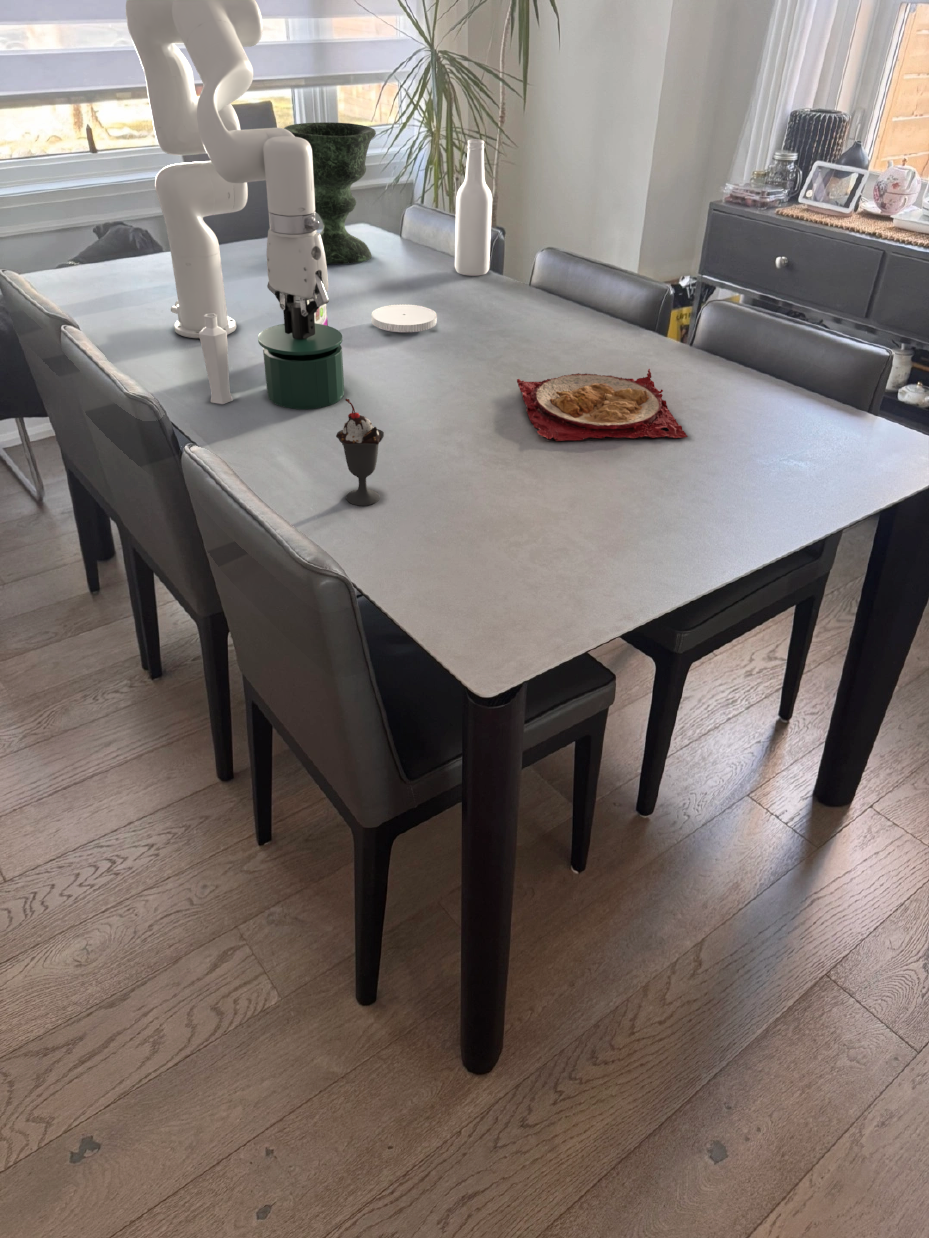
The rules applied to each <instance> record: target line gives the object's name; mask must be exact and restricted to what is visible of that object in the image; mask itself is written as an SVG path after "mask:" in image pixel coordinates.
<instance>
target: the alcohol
mask: <svg viewBox="0 0 929 1238" xmlns="http://www.w3.org/2000/svg"><path fill="white" fill-rule="evenodd" d="M466 147H467V157H466V166H465V174H464V175H465V177H464V181H463V182H462V184H461V185H460V187H459V188H458V190H457V193H456V198H455V232H454V233H455V234H454V235H455V240H454V241H455V242H454V269H455V271H456V272H457V273H458V274H459V275H463V276H470V277H471V276H472V277H474V276H475V277H477V276H478V277H479V276H483V275H486V274H488V272H489V270H490V259H491V256H490V255H491V234H492V213H493V212H492V211H493V196H492V191H491V189H490V187H489V186H488V184H487V183H486V179H485V152H484V151H485V141H484V140H483V139H481V138H480V139H479V138H471V139H468V140H467V146H466Z"/></svg>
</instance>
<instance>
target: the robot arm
mask: <svg viewBox="0 0 929 1238" xmlns="http://www.w3.org/2000/svg"><path fill="white" fill-rule="evenodd" d="M125 19H126V25H127V31H128V34H129V37H130V40H131V42H132V44H133V47H134V49H135V52H136V55H137V56H138V58H139V61H140V64H141V67H142V69H143V74H144V77H145V84H146V92H147V98H148V103H149V109H150V114H151V120H152V126H153V132H154V136H155V140H156V142H157V145H158V147H159V148H160V150H161V151H162V152H163V153H165V154H167V155H170V156H191V155H192V156H194V155H204V154H205V155H206V154H207V156H208V158H209V160H205V161H192V162H180V163H174V164H173V163H172V164H170V165H167V166H164V167H163V168H162V169H160V170H159V171H158V173H157V174H156V176H155V179H154V187H155V193H156V197H157V200H158V203H159V207H160V209H161V213H162V216H163V219H164V223H165V228H166V233H167V238H168V244H169V251H170V257H171V264H172V270H173V276H174V283H175V289H176V296H177V301H175V303H174V305H171V307H170V312H171V314H176V315H177V319H178V320H176V322H175V323H174V325H173V327H174V332H175V333H176V334H177V335H180V336H181V337H185V338H190V339H200V337H199V333H200V331H201V330H202V329H203V328H205V327H206V322H205V317H204V315H205V314H211V313H214V314H216V315H217V317H216V318H217V326H218V327H221V328H222V329H223V330H225V331H226V332H227V335H230V334H232V333H233V332H235V331H236V330H237V322H236V321H237V320H235V319H234V318H232V317H230V316H229V315H228V309H227V299H226V292H225V284H224V275H223V267H222V259H221V252H220V244H219V240H218V237H217V236H216V233H215V231H213V230H212V228H211V227H210V226H209V225H208V224H207V223H206V222H205V221H204V218H206V217H210V216H217V215H223V214H233V213H236V212H240V211H242V210H243V209H244V208H245V207H246V205H247V203H248V198H249V196H248V195H249V189H248V183H253V182H262V181H265V184H266V185H265V186H266V188H265V189H266V199H267V200H266V201H267V212H268V224H269V225H268V226H269V228H268V230H267V238H266V239H267V240H266V269H267V271H266V272H267V280H268V281H267V285H266V287H267V289H268V290H269V291H270V292H271V293H272V295H274V297H275V298H276V300H277V301H278V302H279V309H280V310H282V311H283V310H284V311H283V324H284V325H285V333H287V334H290V333H292V325H291V311H290V305H291V304H292V303H296V296H298V297H299V298H300V306H301V313H302V315H300V316H299V325H300V337H301V338H303V339H305V338H308V337H310V336H313V335H315V318H314V313H316V312H317V309H318V308H319V307H320V306H322V305H324V304H326V305H328V303H329V302H330V299H329V297H328V294H327V293H328V292H329V280H328V279H329V277H328V267H327V264H326V258H325V252H324V247H323V242H322V239H321V235H320V233H321V232H318V231H317V230H318V229H319V227H320V222H319V221H318V220H317V219H316V212H315V196H314V177H313V159H312V149H311V146H310V144H309V142H308V141H307V140H305V139H303V138H299V137H295V136H294V135H293V134H292V133H291V132H290V131H288V130H286V129H284V127H265V128H251V129H250V128H247V129H241V124H240V120H239V117H238V115H237V112H236V110H235V108H234V106H233V105H232V103H234V102H235V101H237V100H238V99H239V98H240V97H242V96H243V95H244V94H245V93H247V91H248V90H249V89H250V87H251V85H252V83H253V80H254V67H253V65H252V62H251V61H250V59H249V57H248V55H247V53H246V51H245V48H248V47H249V48H250V47H251V48H252V47H254V46H257V44H259V42H260V41H261V40H262V36H263V31H264V21H263V16H262V12H261V9H260V6H259V4H258V3H257V1H256V0H126V1H125ZM176 44H183V45H184V47H185V49H186V52H187V53H188V55H189V57H190V59H191V61H192V63H193V66H194V68H195V70H196V72H197V74H198V76H199V78H200V80H201V82H202V85H203V87H202V89H201V91H200V94H199V96H198V95H197V92H196V86H195V85H196V84H195V78H194V72H193V69H192V66H191V64H190V61H188V59H187V58H186V56H185V54H184V53H183V52H182V51H181V50H180V48H179V47H178V46H177V45H176ZM315 294H316V295H315ZM316 297H317V298H316ZM307 300H309V304H307Z"/></svg>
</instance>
